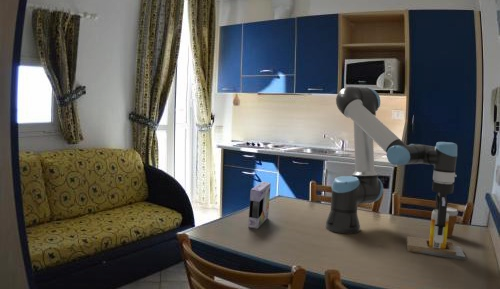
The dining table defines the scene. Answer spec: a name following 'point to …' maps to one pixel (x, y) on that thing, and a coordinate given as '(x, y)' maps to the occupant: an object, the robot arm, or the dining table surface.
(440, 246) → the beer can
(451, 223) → the disposable coffee cup
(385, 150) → the robot arm
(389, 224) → the dining table surface
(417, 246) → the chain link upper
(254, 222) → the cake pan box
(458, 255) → the grey flat plate
